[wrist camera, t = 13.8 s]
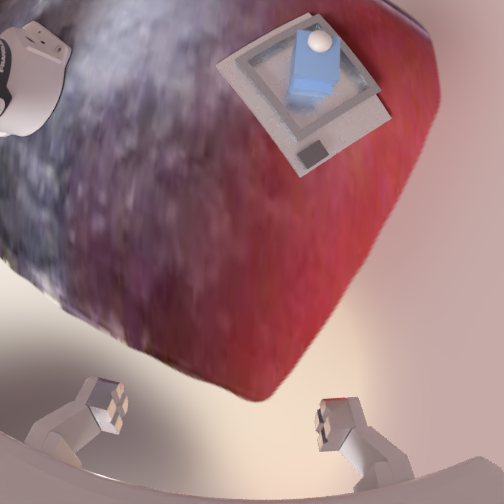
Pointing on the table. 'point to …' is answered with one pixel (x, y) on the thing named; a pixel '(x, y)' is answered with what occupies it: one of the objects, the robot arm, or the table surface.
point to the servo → (314, 63)
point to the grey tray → (304, 97)
